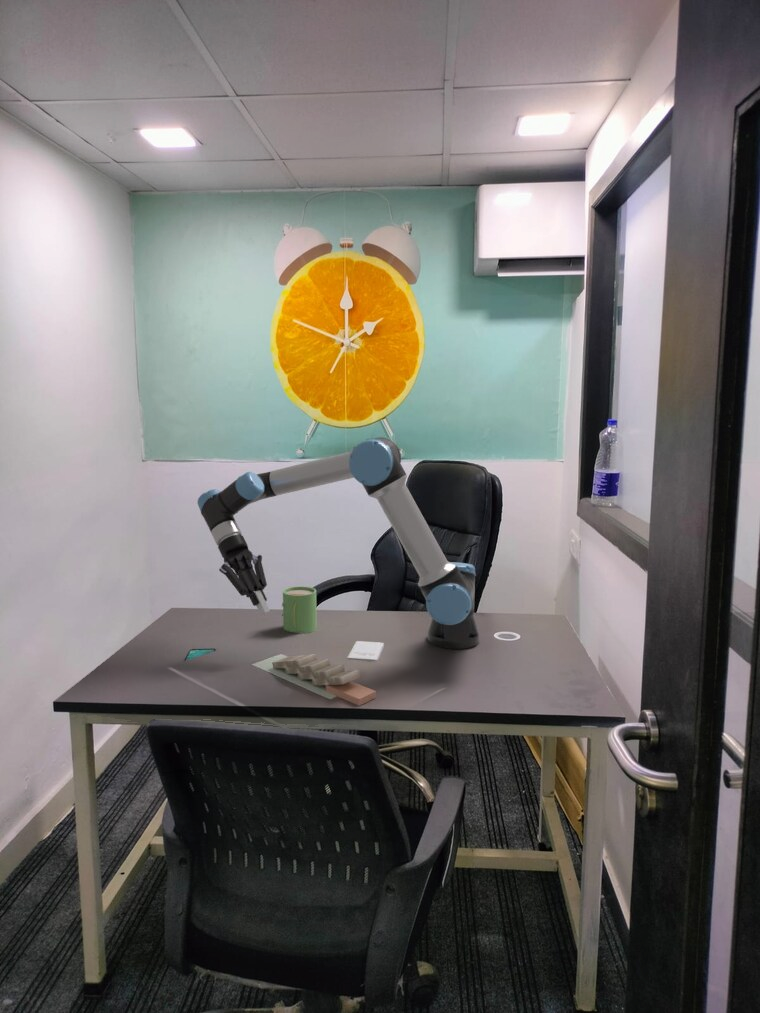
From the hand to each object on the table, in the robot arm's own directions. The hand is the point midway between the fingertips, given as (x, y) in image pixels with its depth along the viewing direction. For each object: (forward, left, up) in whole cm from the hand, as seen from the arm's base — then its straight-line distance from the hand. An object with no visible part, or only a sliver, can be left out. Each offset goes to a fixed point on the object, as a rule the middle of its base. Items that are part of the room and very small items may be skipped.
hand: (265, 613), depth 173 cm
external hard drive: (-27, -2, -13) cm, 30 cm away
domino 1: (-5, +7, -11) cm, 14 cm away
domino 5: (-19, +21, -11) cm, 30 cm away
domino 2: (-8, +11, -11) cm, 17 cm away
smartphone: (+18, +1, -13) cm, 22 cm away
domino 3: (-12, +14, -11) cm, 21 cm away
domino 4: (-15, +18, -11) cm, 26 cm away
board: (-11, +13, -12) cm, 21 cm away
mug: (-7, -22, -13) cm, 26 cm away
